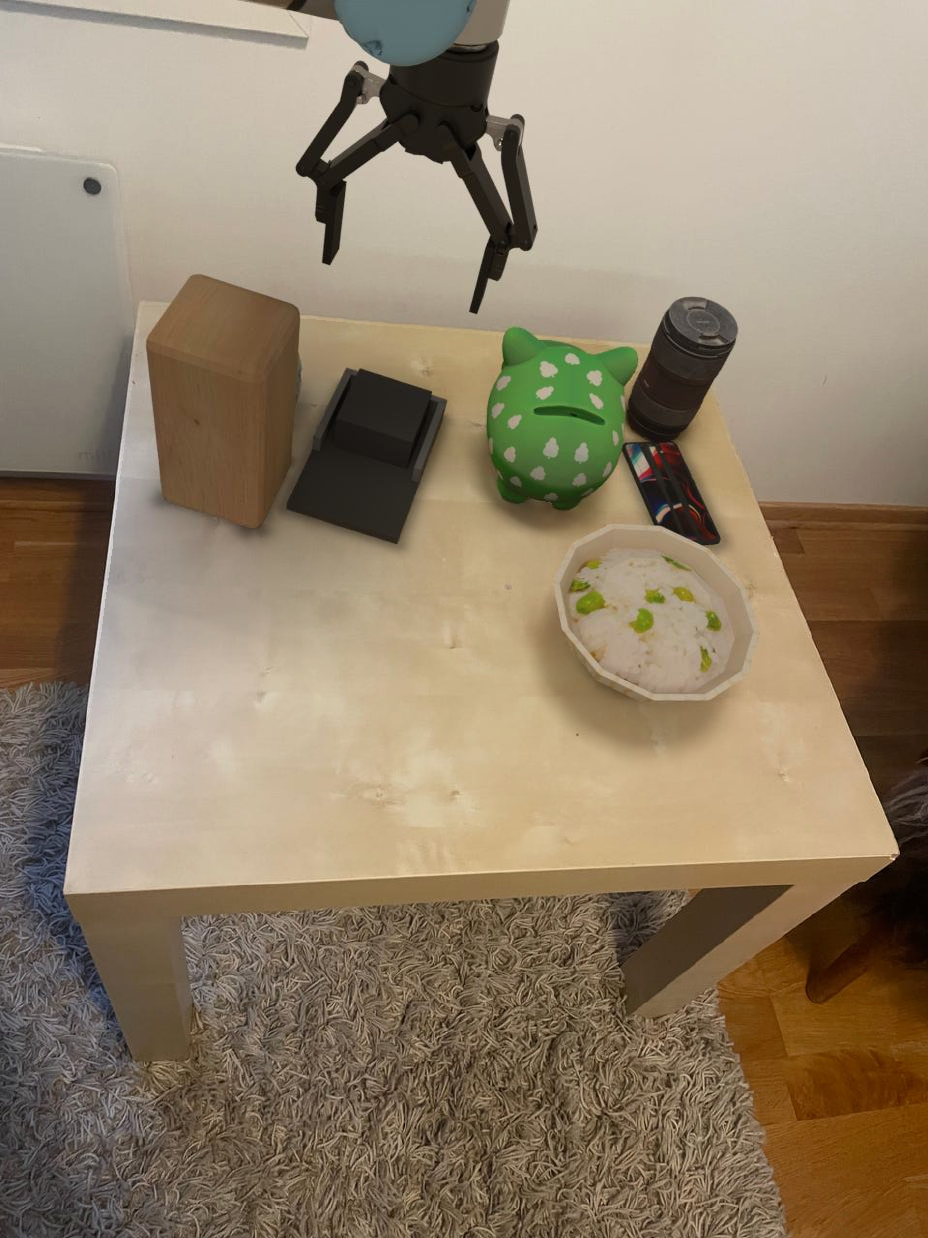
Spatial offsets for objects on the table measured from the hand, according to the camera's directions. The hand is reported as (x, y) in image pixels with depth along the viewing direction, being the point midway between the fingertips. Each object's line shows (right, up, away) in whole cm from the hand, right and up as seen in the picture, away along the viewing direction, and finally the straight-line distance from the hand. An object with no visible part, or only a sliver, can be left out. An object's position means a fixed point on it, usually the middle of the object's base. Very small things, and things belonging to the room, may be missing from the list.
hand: (403, 280), depth 83 cm
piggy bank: (+13, -14, +19) cm, 27 cm away
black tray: (-5, -14, +14) cm, 20 cm away
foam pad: (-3, -10, +16) cm, 19 cm away
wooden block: (-18, -17, +9) cm, 26 cm away
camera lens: (+28, -7, +27) cm, 39 cm away
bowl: (+21, -34, +7) cm, 41 cm away
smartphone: (+28, -16, +21) cm, 39 cm away
